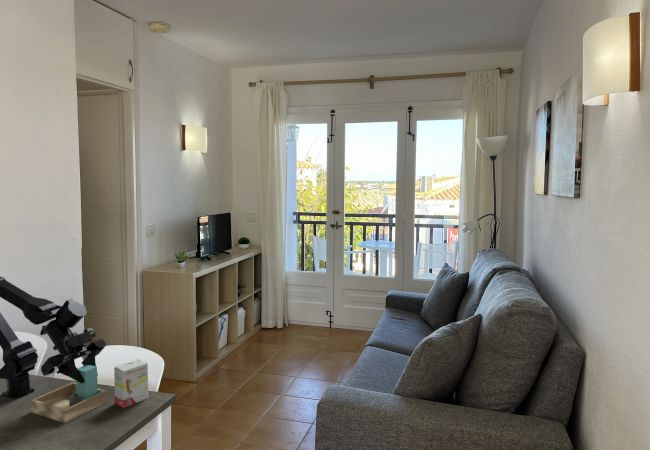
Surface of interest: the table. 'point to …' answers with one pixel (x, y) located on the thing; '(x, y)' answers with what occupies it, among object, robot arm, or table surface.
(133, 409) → the table surface
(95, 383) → the plug
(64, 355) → the robot arm
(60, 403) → the walled box
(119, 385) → the ink box
